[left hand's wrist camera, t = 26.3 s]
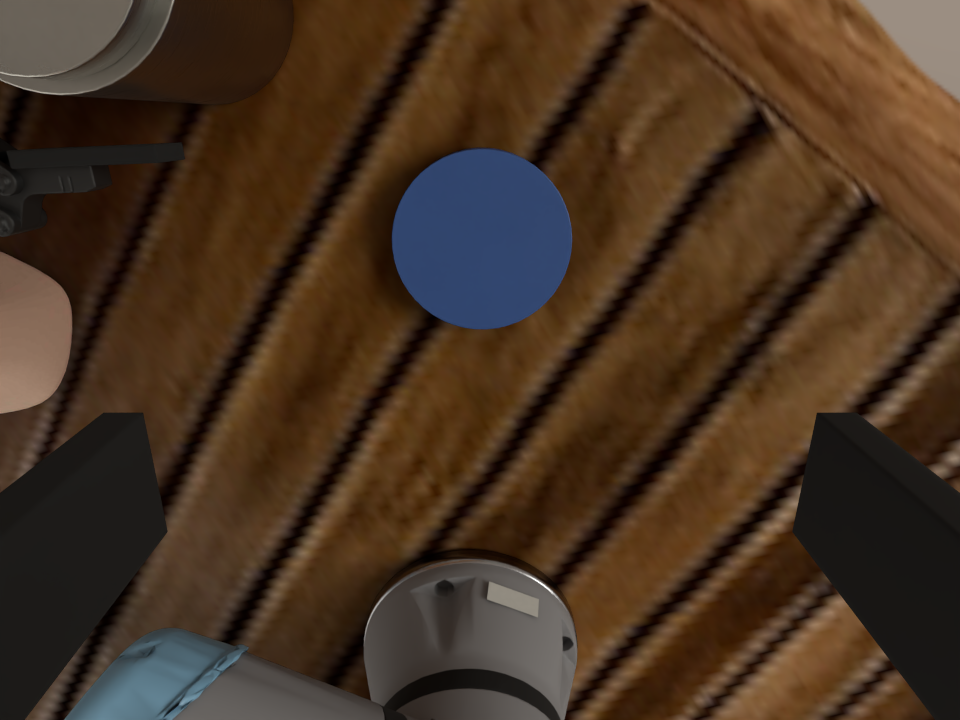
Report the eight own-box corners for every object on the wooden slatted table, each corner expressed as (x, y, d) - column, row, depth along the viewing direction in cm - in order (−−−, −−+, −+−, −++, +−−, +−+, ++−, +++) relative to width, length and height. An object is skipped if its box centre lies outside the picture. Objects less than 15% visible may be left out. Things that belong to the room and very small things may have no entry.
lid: (415, 333, 39) (413, 342, 37) (377, 165, 35) (372, 168, 34) (578, 305, 38) (582, 313, 36) (555, 132, 35) (559, 132, 33)
